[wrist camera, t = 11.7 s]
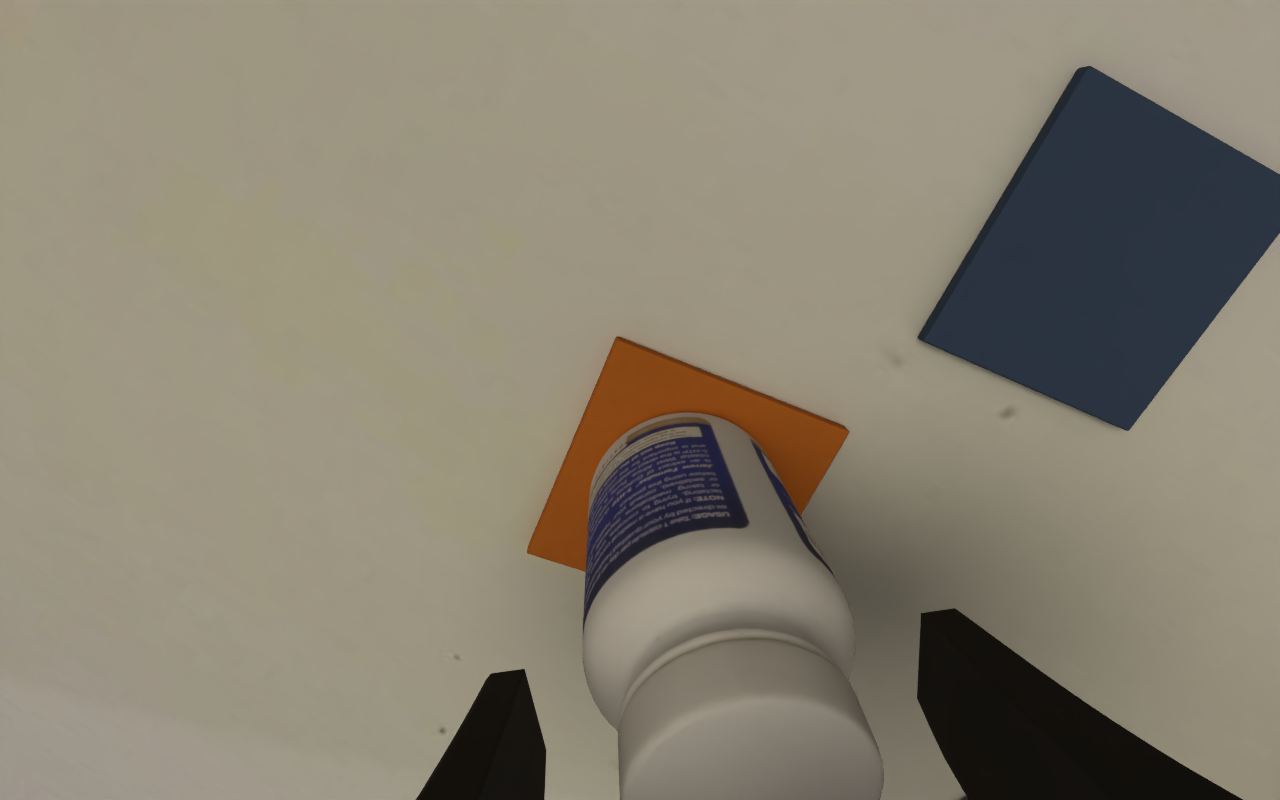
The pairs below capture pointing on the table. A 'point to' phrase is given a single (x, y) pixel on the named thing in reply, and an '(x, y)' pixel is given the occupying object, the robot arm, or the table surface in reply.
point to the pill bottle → (717, 626)
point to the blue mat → (1108, 252)
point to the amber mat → (665, 386)
